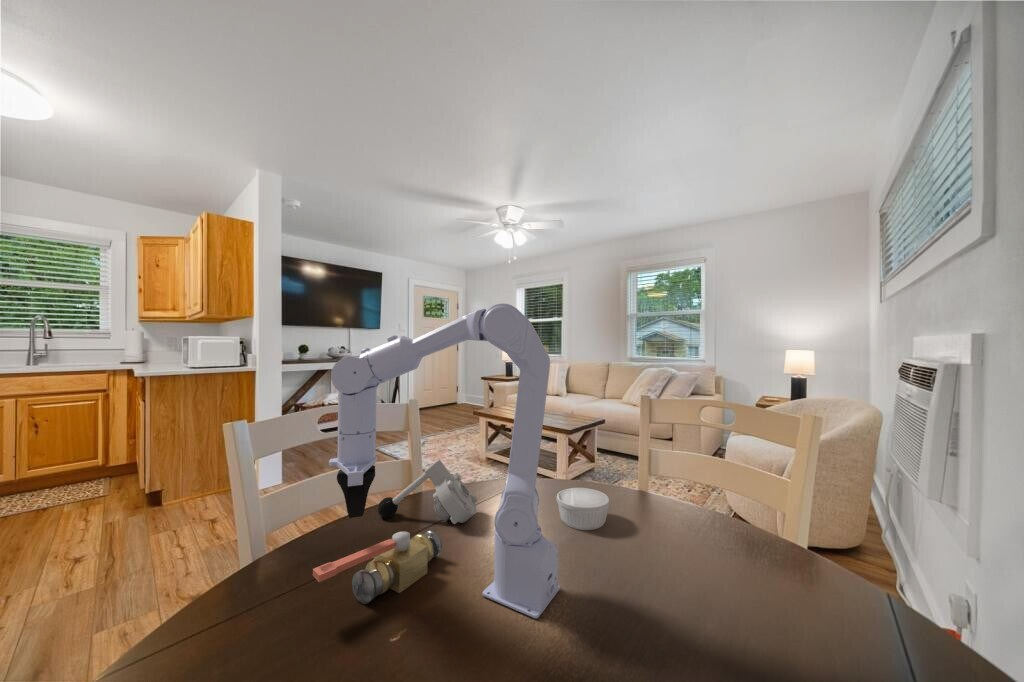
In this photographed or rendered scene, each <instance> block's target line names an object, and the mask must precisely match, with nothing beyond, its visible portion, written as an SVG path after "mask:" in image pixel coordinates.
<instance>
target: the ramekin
mask: <svg viewBox="0 0 1024 682" xmlns="http://www.w3.org/2000/svg"><path fill="white" fill-rule="evenodd" d="M556 502H557V505H558V511H559V512H558V513H559V517H560V520H561V521H562V522H563V524H564V525H566V526H567V527H570V528H572V529H574V530H580V531H594V530H598V529H600V528H601V527H603V526H604V525H605V523H606V520H607V515H608V510H609V509H608V508H609V507H610V498H609V496H608V495H607V494H605V493H604V492H602V491H599V490H597V489H592V488H587V487H570V488H565V489H562V490H560V491H559V492H557V494H556Z"/></svg>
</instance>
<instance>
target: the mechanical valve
mask: <svg viewBox="0 0 1024 682" xmlns="http://www.w3.org/2000/svg"><path fill="white" fill-rule="evenodd" d="M428 479H429V480H430V481H431V483H432V484H433V485H434V487H435V492H434V493H433V495H432V498H433V499H434V500H433V502H432V507H433V509H434V512H435V513H436V515H437V516H438V517H439V518H440V519H441V520H443V521H444V522H447V521H448V520H450V521H451V523H452V524H453V525H456V524H458V523H461V524H463V523H465V522H467V521H468V520H469V519H470V518H471V517H473V516H474V515H476V513H477V505H476V503H477V502H478V498H477V496H476V495H475V494H474V493H471V492H470V490H469V489H468V487H467V486H466V485H465V483H464V482H463V481H462V477H461V475H460V474H459V473H458V472H455V473H454V474H453V473H450V471H449V470H448V468H447V467H446V466H445V464H444V463H443V462H442V461H441V459H437V460H436V461H435V462H434V463H432V464H431V465H430V466H428V467H427V468H426V469H425V470H424V472H423V473H422V474H421V475H420V476H419V477H418V478H417V479H415V480H414V481H412V482H411V483H410V484H409V485H408V486H407V487H405V488H404V489H402V490H401V492H399V493H398V494H397V495H396V496H394V497H391V496H388V497H385V498H383V499H382V500H381V501H380V502H379V503H378V506H377V512H378V515H379V516H380V517H382V518H385V519H389V518H392V517H393V516H394V515H395V514H396V513H397V511H398V507H399V505H398V504H399V503H401V501H403V500H404V499H405V498H407V496H409V495H411V493H412V492H414V490H416V489H417V488H418V487H419V486H421V485H422V484H423V483H425V481H427V480H428ZM404 497H405V498H404ZM388 501H390V502H388ZM386 502H388V503H386ZM383 503H384V504H383ZM381 504H382V505H381Z"/></svg>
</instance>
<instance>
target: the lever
mask: <svg viewBox="0 0 1024 682" xmlns="http://www.w3.org/2000/svg"><path fill="white" fill-rule="evenodd" d="M410 539H411V533H410V532H408V531H398V532H395V533H393V535H392V536H391V538H388V539H386V540H384V541H380V542H379V543H376V544H373V545H371V546H369V547H366V548H364V549H362V550H359V551H356V552H355V553H352V554H349V555H347V556H345V557H341V558H339V559H337V560H334V561H332V562H331V561H329V562H327V563H324V564H321V565H320V566H317V567H314V568H312V576H313V578H315V580H316V581H317V582H318V583H320V582H323V581H325V580H327V579H330V578H332V577H335V576H336V575H338V574H339V573H340V572H343V571H345V570H347V569H350V568H352V567H354V566H357V565H359V564H361V563H364V562H366V561H369V560H371V559H374V557H376V556H378V555H380V554H383V553H385V552H387V551H389V550H392V549H393V550H394V551H405V550H407V549H408V548H409V547H410Z"/></svg>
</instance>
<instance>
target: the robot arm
mask: <svg viewBox="0 0 1024 682" xmlns="http://www.w3.org/2000/svg"><path fill="white" fill-rule="evenodd" d="M386 340H387V342H385V343H383V344H380V345H378V346H375V347H372V348H371V349H370V348H367V347H366V348H363V349H362V350H360V355H359V356H355V355H345V356H343V357H342V358H341V359H339V360H337V362H335V364H334V365H333V366H332V369H331V371H330V378H331V379H330V380H331V383H332V385H333V387H334V388H335V389H336V390H337V392H338V393H337V394H338V397H337V400H338V401H337V457H333V458H330V459H329V461H328V467H337V468H338V469H339V470H338V472H337V474H336V481H337V484H338V485H339V487H340V488H341V491H342V494H343V496H344V501H345V507H346V513H347V515H348V518H349V519H351V518H358V517H363V516H364V513H365V510H366V505H367V504H366V503H367V499H368V494H369V491H370V488H371V486H372V484H373V481H374V480H375V477H376V465H375V464H376V463H377V462H378V456H377V454H376V452H377V450H376V448H377V389H378V387H379V386H380V384H384V383H387V382H388V381H390V380H393V379H396V378H398V377H400V376H402V375H405V374H407V373H410V372H412V371H415V370H417V369H418V368H419V366H420V364H421V361H422V359H423V358H424V357H427V356H430V355H432V354H434V353H438V352H440V351H443V350H445V349H448V348H450V347H452V346H456V345H458V344H461V343H464V342H465V341H476V342H477V341H478V342H488V343H490V344H491V345H493V346H494V347H496V348H497V349H499V350H501V351H503V352H504V353H505V354H506V355H507V356H508V357H509V359H510V360H511V361H512V362H513V363H514V364H515V366H517V367H518V369H519V376H518V385H517V392H516V393H517V395H516V400H515V401H516V402H515V410H514V418H513V425H512V426H513V428H512V434H511V443H510V451H509V453H510V454H509V460H508V467H507V469H508V470H507V476H506V480H505V481H506V483H505V486H504V488H503V490H502V493H501V496H500V502H499V506H498V509H497V511H496V512H495V514H494V522H493V523H494V557H493V558H494V561H493V563H494V568H493V570H494V571H493V572H494V573H493V575H494V577H493V578H494V580H493V581H492V582H491V583H490V584H489V585H488V586H487V587H486V588H485V589H484V590H483V591H482V596H483V597H484V598H487V599H489V600H491V601H494V602H496V603H499V604H500V605H503V606H506V607H508V608H510V609H513V610H514V611H517V612H520V613H522V614H523V615H527V616H529V617H531V618H533V619H538V618H540V616H541V615H542V613H544V611H545V609H546V608H547V607H548V606H549V604H550V603H551V601H552V600H553V599H554V598H555V596H556V595H557V594H558V592H559V591H560V590H561V587H560V585H559V548H558V545H557V543H556V542H554V541H551V540H550V539H548V538H547V537H546V536H545V535H544V534H543V533H542V527H541V526H540V525H539V519H538V517H539V516H538V514H539V513H538V512H539V506H540V505H539V503H540V496H539V495H540V494H539V492H538V489H537V487H536V486H537V478H538V468H539V462H540V461H539V459H540V452H541V443H542V437H543V436H542V435H543V426H544V417H545V410H546V409H545V408H546V404H547V403H546V401H547V394H548V392H547V391H548V384H549V376H550V370H551V369H550V367H551V358H550V355H549V354H548V352H547V350H546V347H545V346H544V344H543V342H542V340H541V338H540V337H539V334H538V333H537V331H536V329H535V328H534V326H533V323H532V322H531V321H530V320H529V319H528V317H526V316H525V315H524V313H522V312H521V311H520V310H519V309H518V308H517V307H515V306H514V305H512V304H509V303H505V302H504V303H503V302H502V303H501V302H500V303H495V304H494V305H492V306H490V307H489V308H488V309H486V308H481V309H478V310H475V311H473V312H469V313H468V314H465V315H463V316H460V317H459V318H456V319H454V320H452V321H450V322H448V323H446V324H444V325H441V326H440V327H437V328H435V329H433V330H430V331H428V332H427V333H424V334H422V335H421V336H418V337H416V338H414V339H413V338H410V337H407V336H405V335H401V336H398V335H396V334H395V335H391V336H389V337H387V338H386Z"/></svg>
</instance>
